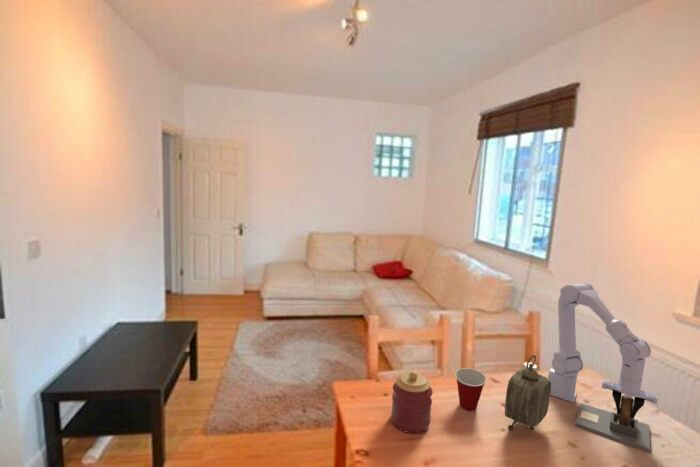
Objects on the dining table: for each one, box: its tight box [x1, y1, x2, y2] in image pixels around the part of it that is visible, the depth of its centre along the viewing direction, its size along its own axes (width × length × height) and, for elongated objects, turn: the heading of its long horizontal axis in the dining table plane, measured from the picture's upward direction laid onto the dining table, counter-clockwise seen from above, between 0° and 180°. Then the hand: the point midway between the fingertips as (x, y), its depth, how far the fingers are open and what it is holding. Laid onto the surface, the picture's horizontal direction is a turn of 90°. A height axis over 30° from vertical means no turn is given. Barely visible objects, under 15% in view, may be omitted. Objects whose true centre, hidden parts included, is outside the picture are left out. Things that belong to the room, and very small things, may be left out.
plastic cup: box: [454, 367, 487, 412], centre depth 136 cm, size 11×11×12 cm
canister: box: [390, 371, 433, 434], centre depth 126 cm, size 13×13×18 cm
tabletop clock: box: [504, 354, 551, 431], centre depth 125 cm, size 14×9×25 cm, turn 135°
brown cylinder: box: [618, 394, 634, 426], centre depth 126 cm, size 3×3×9 cm
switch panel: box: [574, 402, 651, 453], centre depth 129 cm, size 20×15×4 cm
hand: (625, 415), depth 126 cm, fingers closed on brown cylinder, 3 cm apart
